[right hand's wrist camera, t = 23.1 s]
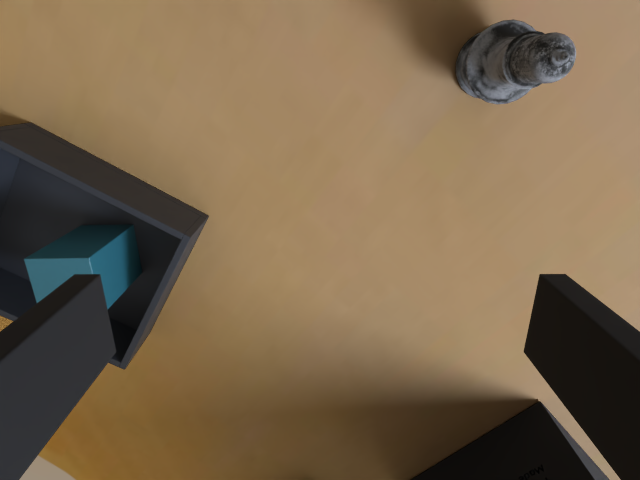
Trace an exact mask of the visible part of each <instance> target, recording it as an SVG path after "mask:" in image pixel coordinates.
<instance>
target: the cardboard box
mask: <svg viewBox="0 0 640 480" xmlns="http://www.w3.org/2000/svg"><path fill="white" fill-rule="evenodd" d="M412 480H609V479H608V477H607V476H606V475H605V474H604V473H603V472H602V471H601V470H600V468H599V467H598V466H597V465H596V464H595V463H594V462H593V460H592V459H591V458H590V457H589V456H588V455H587V454H586V453H585V451H584V450H583V449H582V448H581V447H580V446H579V445H578V443H577V442H576V441H575V440H574V439H573V438H572V437H571V436H570V434H569V433H568V432H567V431H566V430H565V429H564V428H563V426H562V425H561V424H560V423H559V422H558V421H557V420H556V419H555V417H554V416H553V415H552V414H551V413H550V412H549V411H548V409H547V408H546V407H545V406H544V405H543V404H542V403H541V402H538V403H537V404H535V405H533V406H532V407H530V408H528V409H527V410H525V411H523V412H522V413H520V414H519V415H517V416H515V417H514V418H512V419H510V420H509V421H507V422H505V423H504V424H502V425H500V426H499V427H497V428H496V429H494V430H492V431H491V432H489V433H487V434H486V435H484V436H482V437H481V438H479V439H477V440H476V441H474V442H473V443H471V444H469V445H468V446H466V447H464V448H463V449H461V450H459V451H458V452H456V453H455V454H453V455H451V456H450V457H448V458H446V459H445V460H443V461H441V462H440V463H438V464H436V465H435V466H433V467H432V468H430V469H428V470H427V471H425V472H423V473H422V474H420V475H418V476H417V477H415V478H413V479H412Z"/></svg>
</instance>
